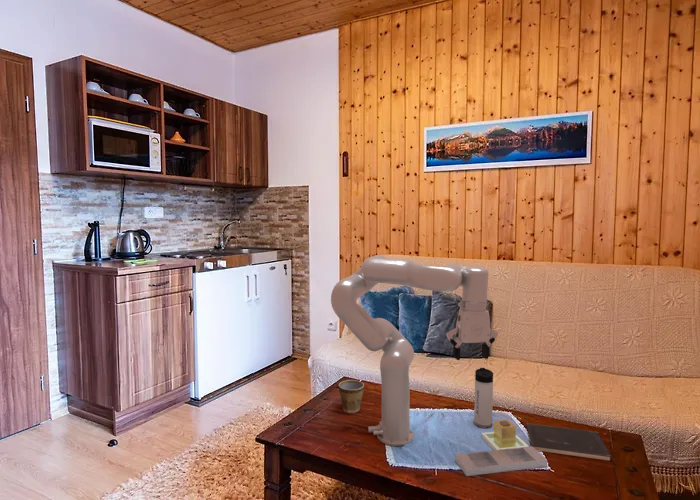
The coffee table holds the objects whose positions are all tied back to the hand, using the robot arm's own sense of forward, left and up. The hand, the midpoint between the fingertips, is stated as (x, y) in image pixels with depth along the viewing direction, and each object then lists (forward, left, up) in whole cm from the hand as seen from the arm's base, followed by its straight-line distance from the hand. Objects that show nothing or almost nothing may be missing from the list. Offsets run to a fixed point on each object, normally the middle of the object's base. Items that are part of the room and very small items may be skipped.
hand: (470, 358), depth 138 cm
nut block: (+12, 0, -30) cm, 32 cm away
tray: (+12, 0, -31) cm, 33 cm away
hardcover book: (+33, -3, -31) cm, 46 cm away
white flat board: (+5, -10, -31) cm, 33 cm away
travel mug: (+12, +15, -31) cm, 36 cm away
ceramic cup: (-33, +37, -31) cm, 58 cm away
